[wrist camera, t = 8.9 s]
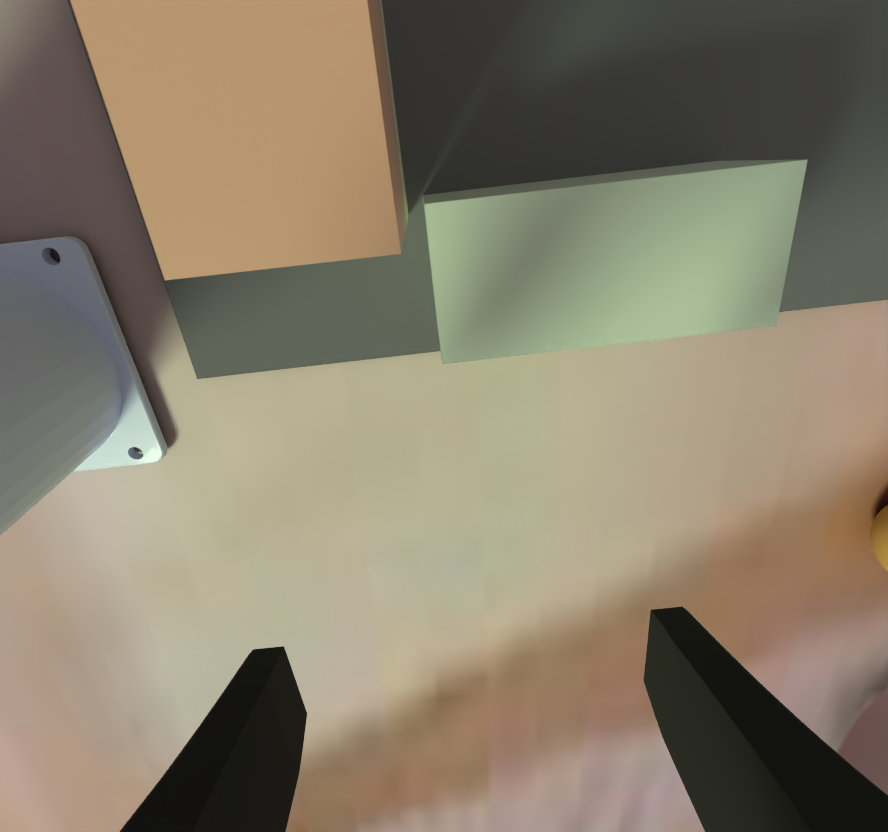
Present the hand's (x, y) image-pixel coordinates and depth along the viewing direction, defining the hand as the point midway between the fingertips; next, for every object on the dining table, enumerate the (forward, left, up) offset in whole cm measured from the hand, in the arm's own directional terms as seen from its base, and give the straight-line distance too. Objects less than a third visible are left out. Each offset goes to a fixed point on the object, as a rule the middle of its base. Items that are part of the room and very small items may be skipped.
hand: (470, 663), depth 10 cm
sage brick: (+5, +6, -10) cm, 13 cm away
